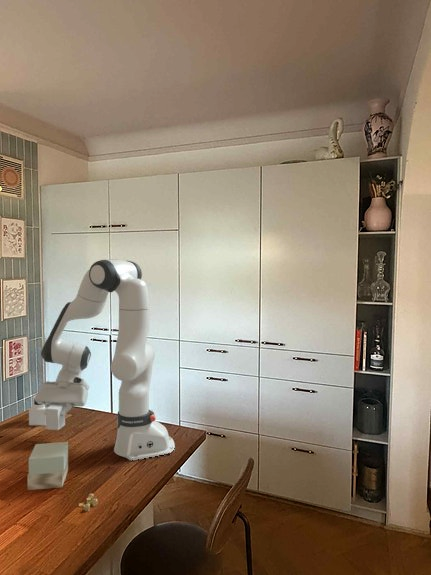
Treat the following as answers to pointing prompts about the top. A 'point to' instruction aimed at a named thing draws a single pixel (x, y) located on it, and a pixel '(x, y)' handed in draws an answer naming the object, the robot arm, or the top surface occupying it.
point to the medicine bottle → (37, 414)
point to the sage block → (48, 458)
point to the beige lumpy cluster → (87, 505)
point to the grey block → (54, 417)
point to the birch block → (47, 480)
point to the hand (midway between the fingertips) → (54, 415)
